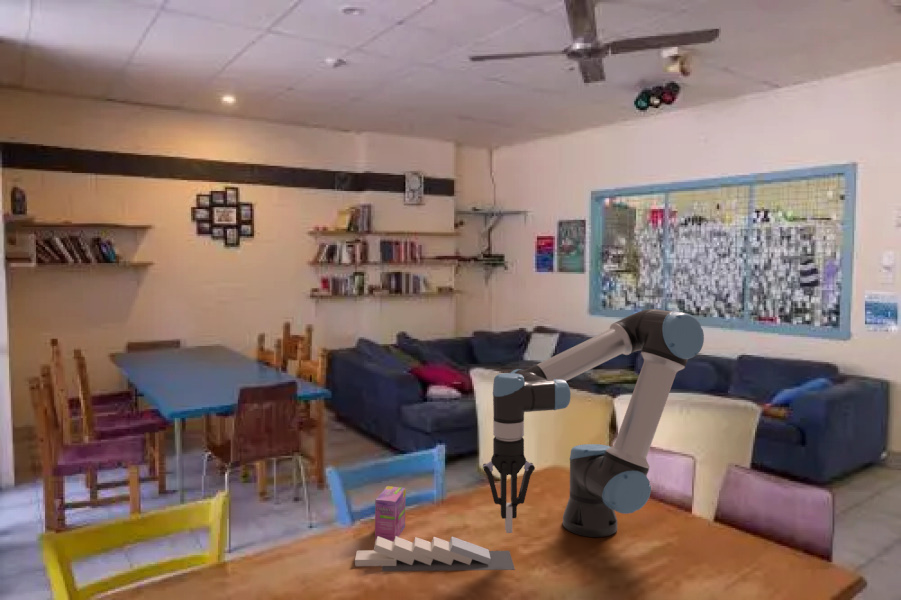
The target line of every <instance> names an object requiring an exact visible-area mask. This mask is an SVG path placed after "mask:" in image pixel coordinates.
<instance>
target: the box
mask: <svg viewBox="0 0 901 600" xmlns="http://www.w3.org/2000/svg"><path fill="white" fill-rule="evenodd" d="M406 492H407V490H406V487H403V486H402V487H399V486H389V485H386V486H385V488H383V490H382V491H381V492H380V493H379V495H378V496H377V497H376V499H375V502H374V503H375V504H374V505H375V506H374V542H375V541H376V539H377V536H379V537H382V538H384V539H387V540H390V541H392V542H393V541H394V539H395V536H397V537H399V538H400V535H401V534H402V533H403V531H404V529H405V528H406V494H407V493H406Z"/></svg>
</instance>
